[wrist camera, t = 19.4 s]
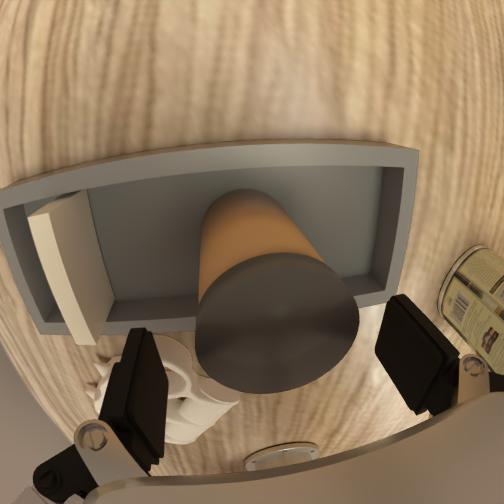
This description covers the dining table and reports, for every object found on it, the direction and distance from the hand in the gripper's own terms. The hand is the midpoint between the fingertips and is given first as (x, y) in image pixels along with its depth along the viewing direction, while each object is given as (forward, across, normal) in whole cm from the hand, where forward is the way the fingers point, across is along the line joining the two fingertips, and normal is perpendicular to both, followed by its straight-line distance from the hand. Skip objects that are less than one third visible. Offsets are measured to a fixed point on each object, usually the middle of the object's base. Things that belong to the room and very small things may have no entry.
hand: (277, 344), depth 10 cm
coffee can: (+11, -26, +8) cm, 29 cm away
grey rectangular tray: (+11, +3, -1) cm, 11 cm away
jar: (+9, 0, -1) cm, 9 cm away
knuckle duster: (+12, +11, +17) cm, 23 cm away
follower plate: (+9, +12, -1) cm, 15 cm away
